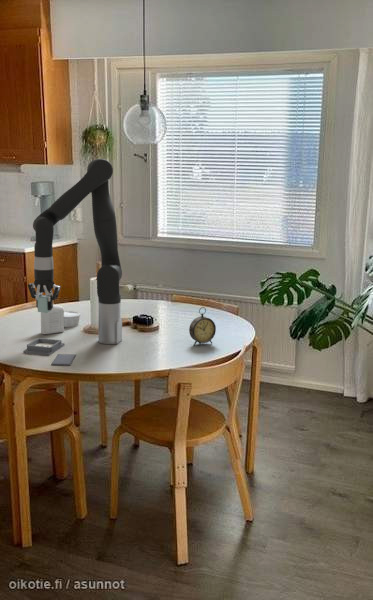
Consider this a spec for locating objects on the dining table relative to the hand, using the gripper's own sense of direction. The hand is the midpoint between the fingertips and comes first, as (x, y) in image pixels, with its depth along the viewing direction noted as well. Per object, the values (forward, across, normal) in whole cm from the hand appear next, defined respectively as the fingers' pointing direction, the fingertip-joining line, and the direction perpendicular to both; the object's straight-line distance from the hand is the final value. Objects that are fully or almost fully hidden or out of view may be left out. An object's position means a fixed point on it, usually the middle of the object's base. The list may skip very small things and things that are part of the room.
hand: (44, 309), depth 237 cm
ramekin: (+16, +5, -32) cm, 36 cm away
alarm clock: (+15, -60, -25) cm, 67 cm away
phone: (+16, -15, +14) cm, 26 cm away
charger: (+1, 0, 0) cm, 1 cm away
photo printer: (+16, +6, -18) cm, 24 cm away
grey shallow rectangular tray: (+15, -2, +4) cm, 16 cm away
